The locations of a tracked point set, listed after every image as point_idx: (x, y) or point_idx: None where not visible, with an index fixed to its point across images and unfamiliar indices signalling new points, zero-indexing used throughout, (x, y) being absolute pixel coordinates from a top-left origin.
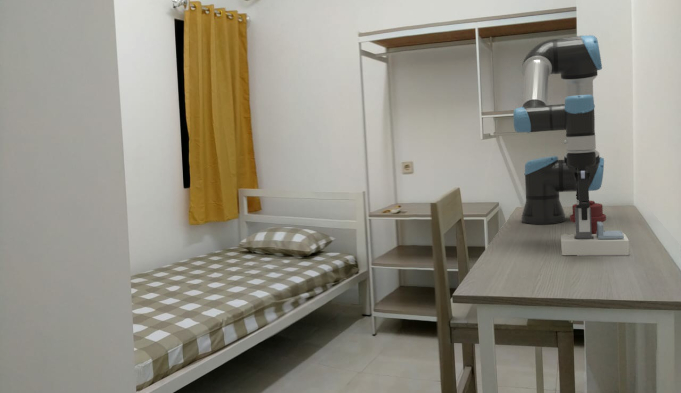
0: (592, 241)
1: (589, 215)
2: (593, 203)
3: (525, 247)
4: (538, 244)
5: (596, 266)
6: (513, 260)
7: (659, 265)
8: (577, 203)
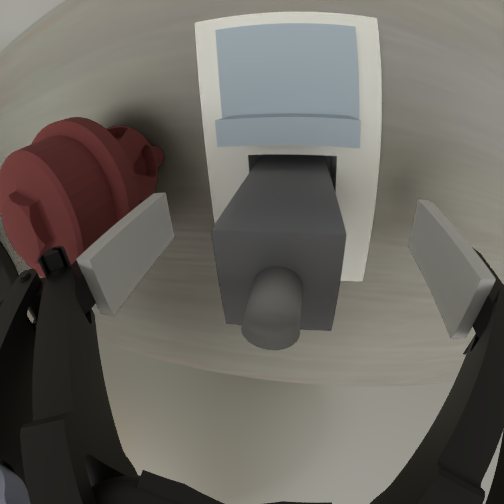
0: (378, 167)
1: (469, 246)
2: (22, 198)
3: (231, 327)
4: (187, 298)
5: (495, 174)
6: (382, 349)
7: (485, 11)
8: (119, 301)
